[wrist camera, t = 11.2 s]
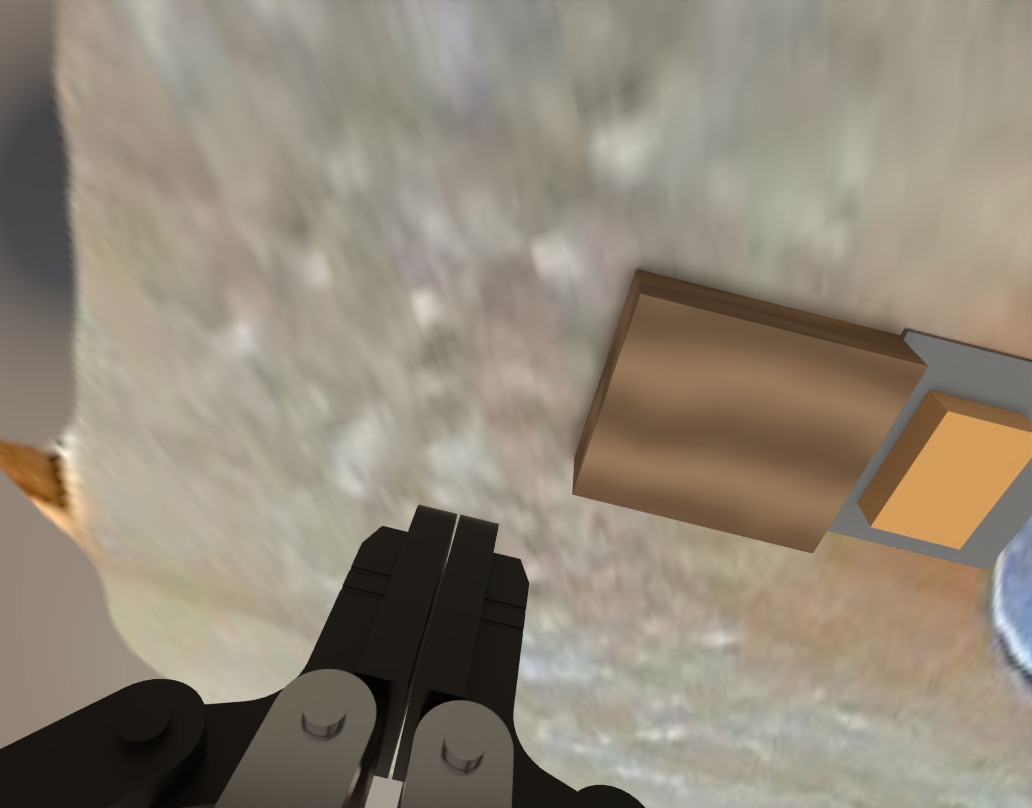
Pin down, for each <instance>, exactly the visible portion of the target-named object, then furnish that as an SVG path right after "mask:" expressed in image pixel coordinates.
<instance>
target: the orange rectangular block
mask: <svg viewBox="0 0 1032 808" xmlns="http://www.w3.org/2000/svg"><path fill="white" fill-rule="evenodd" d="M1031 458H1032V422H1031V421H1030V420H1029V419H1028V418H1027V417H1026V416H1025V415H1023V414H1019V413H1016V412H1012V411H1008V410H1004V409H1000V408H996V407H992V406H988V405H984V404H981V403H977V402H973V401H969V400H965V399H961V398H957V397H953V396H950V395H946V394H942V393H938V392H934V391H930V390H929V392H928V393H927V395H926V396H925V398H924V399H923V401H922V402H921V404H920V406H919V407H918V409H917V410H916V412H915V413H914V415H913V417H912V418H911V420H910V421H909V423H908V424H907V426H906V427H905V429H904V431H903V432H902V434H901V435H900V437H899V438H898V440H897V441H896V443H895V445H894V446H893V448H892V449H891V451H890V452H889V454H888V456H887V457H886V459H885V460H884V462H883V463H882V465H881V466H880V468H879V470H878V471H877V473H876V474H875V476H874V477H873V479H872V480H871V482H870V484H869V485H868V487H867V488H866V490H865V491H864V493H863V495H862V496H861V498H860V499H859V501H858V502H857V503H858V505H859V507H860V509H861V510H862V512H863V514H864V516H865V518H866V520H867V522H868V523H869V525H870V527H872V528H876V529H880V530H884V531H888V532H892V533H896V534H900V535H904V536H908V537H912V538H916V539H920V540H924V541H928V542H932V543H936V544H940V545H944V546H948V547H952V548H956V549H960V548H961V547H962V546H963V545H964V543H965V542H966V541H967V539H968V538H969V537H970V536H971V534H972V533H973V532H974V531H975V529H976V528H977V527H978V525H979V524H980V523H981V522H982V520H983V519H984V518H985V516H986V515H987V514H988V513H989V511H990V510H991V509H992V508H993V506H994V505H995V504H996V502H997V501H998V500H999V499H1000V497H1001V496H1002V495H1003V493H1004V492H1005V491H1006V490H1007V488H1008V487H1009V486H1010V485H1011V483H1012V482H1013V481H1014V479H1015V478H1016V477H1017V476H1018V474H1019V473H1020V472H1021V470H1022V469H1023V468H1024V467H1025V465H1026V464H1027V463H1028V462H1029V460H1030V459H1031Z"/></svg>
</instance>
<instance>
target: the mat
mask: <svg viewBox="0 0 1032 808" xmlns="http://www.w3.org/2000/svg"><path fill="white" fill-rule="evenodd" d="M901 338H902V339H903V340H904V341H905V342H906V343H907V344H908V345H909V346H910V347H911V348H912V350H913V351H914V352H915V353H916V354H917V355H918V356H919V357H920V358H921V359H922V360H923V361H924V362H925V363H926V364H927V365H928V368H927V370H926V371H925V373H924V374H923V376H922V378H921V379H920V381H919V383H918V384H917V386H916V387H915V389H914V391H913V392H912V394H911V396H910V397H909V399H908V400H907V402H906V404H905V405H904V407H903V408H902V410H901V412H900V413H899V415H898V417H897V418H896V420H895V421H894V423H893V425H892V426H891V428H890V429H889V431H888V433H887V434H886V436H885V438H884V439H883V441H882V442H881V444H880V446H879V447H878V449H877V450H876V452H875V454H874V455H873V457H872V459H871V460H870V462H869V463H868V465H867V467H866V468H865V470H864V471H863V473H862V475H861V476H860V478H859V480H858V481H857V483H856V484H855V486H854V488H853V489H852V491H851V492H850V494H849V496H848V497H847V499H846V501H845V502H844V504H843V505H842V507H841V509H840V510H839V512H838V513H837V515H836V517H835V518H834V520H833V522H832V523H831V525H830V526H829V528H828V530H827V531H831V532H835V533H839V534H843V535H847V536H851V537H855V538H859V539H863V540H867V541H871V542H875V543H879V544H883V545H887V546H891V547H896V548H900V549H904V550H908V551H912V552H916V553H920V554H924V555H928V556H932V557H936V558H940V559H944V560H948V561H952V562H956V563H960V564H964V565H969V566H973V567H977V568H981V569H985V570H987V569H988V568H989V566H990V565H991V564H992V563H993V562H994V560H995V559H996V558H997V557H998V555H999V554H1000V553H1001V552H1002V551H1003V549H1004V548H1005V547H1006V546H1007V544H1008V543H1009V542H1010V541H1011V540H1012V538H1013V537H1014V536H1015V535H1016V533H1017V532H1018V531H1019V530H1020V529H1021V527H1022V526H1023V525H1024V524H1025V522H1026V521H1027V520H1028V519H1029V518H1030V516H1031V515H1032V458H1031V459H1030V460H1029V462H1028V463H1027V464H1026V465H1025V467H1024V468H1023V469H1022V470H1021V472H1020V473H1019V474H1018V476H1017V477H1016V478H1015V479H1014V481H1013V482H1012V483H1011V485H1010V486H1009V487H1008V488H1007V490H1006V491H1005V492H1004V493H1003V495H1002V496H1001V497H1000V499H999V500H998V501H997V502H996V504H995V505H994V506H993V508H992V509H991V510H990V511H989V513H988V514H987V515H986V516H985V518H984V519H983V520H982V522H981V523H980V524H979V525H978V527H977V528H976V529H975V531H974V532H973V533H972V534H971V536H970V537H969V538H968V539H967V541H966V542H965V543H964V545H963V546H962V547H961V548H960V549H956V548H952V547H948V546H944V545H940V544H936V543H932V542H928V541H924V540H920V539H916V538H912V537H908V536H904V535H900V534H896V533H892V532H888V531H884V530H880V529H876V528H872V527H870V525H869V523H868V522H867V520H866V518H865V516H864V514H863V512H862V510H861V509H860V507H859V505H858V503H857V502H858V501H859V499H860V498H861V496H862V495H863V493H864V491H865V490H866V488H867V487H868V485H869V484H870V482H871V480H872V479H873V477H874V476H875V474H876V473H877V471H878V470H879V468H880V466H881V465H882V463H883V462H884V460H885V459H886V457H887V456H888V454H889V452H890V451H891V449H892V448H893V446H894V445H895V443H896V441H897V440H898V438H899V437H900V435H901V434H902V432H903V431H904V429H905V427H906V426H907V424H908V423H909V421H910V420H911V418H912V417H913V415H914V413H915V412H916V410H917V409H918V407H919V406H920V404H921V402H922V401H923V399H924V398H925V396H926V395H927V393H928V392H929V390H930V391H934V392H938V393H942V394H946V395H950V396H953V397H957V398H961V399H965V400H969V401H973V402H977V403H981V404H984V405H988V406H992V407H996V408H1000V409H1004V410H1008V411H1012V412H1016V413H1019V414H1023V415H1025V416H1026V417H1027V418H1028V419H1029V420H1030V421H1031V422H1032V361H1031V360H1027V359H1023V358H1019V357H1015V356H1012V355H1008V354H1004V353H1000V352H996V351H992V350H988V349H984V348H980V347H976V346H972V345H968V344H964V343H960V342H956V341H952V340H948V339H944V338H940V337H936V336H932V335H928V334H924V333H921V332H917V331H913V330H909V329H905V330H904V332H903V334H902V336H901Z"/></svg>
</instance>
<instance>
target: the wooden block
mask: <svg viewBox="0 0 1032 808" xmlns="http://www.w3.org/2000/svg"><path fill="white" fill-rule="evenodd" d="M927 368H928V365H927V364H926V363H925V362H924V361H923V360H922V359H921V358H920V357H919V356H918V355H917V354H916V353H915V352H914V351H913V350H912V348H911V347H910V346H909V345H908V344H907V343H906V342H905V341H904V340H903V339H902V338H901V337H900V336H898V335H894V334H890V333H886V332H882V331H878V330H874V329H870V328H866V327H862V326H858V325H855V324H851V323H847V322H843V321H839V320H835V319H831V318H827V317H823V316H819V315H815V314H811V313H807V312H803V311H799V310H795V309H791V308H787V307H783V306H779V305H775V304H771V303H767V302H763V301H759V300H756V299H752V298H748V297H744V296H740V295H736V294H732V293H728V292H724V291H720V290H716V289H712V288H708V287H704V286H700V285H696V284H692V283H688V282H684V281H680V280H676V279H672V278H668V277H664V276H660V275H656V274H653V273H649V272H645V271H641V270H636V273H635V276H634V279H633V283H632V286H631V289H630V292H629V295H628V298H627V301H626V304H625V307H624V310H623V313H622V316H621V319H620V322H619V325H618V328H617V331H616V334H615V337H614V340H613V343H612V346H611V349H610V352H609V355H608V358H607V361H606V364H605V367H604V370H603V373H602V377H601V380H600V383H599V386H598V389H597V392H596V395H595V398H594V401H593V404H592V407H591V410H590V413H589V416H588V419H587V422H586V425H585V428H584V431H583V434H582V437H581V440H580V443H579V446H578V449H577V452H576V455H575V458H574V474H573V492H572V494H573V495H577V496H581V497H585V498H589V499H593V500H597V501H601V502H605V503H609V504H614V505H618V506H622V507H626V508H630V509H634V510H638V511H642V512H646V513H650V514H654V515H658V516H662V517H666V518H670V519H675V520H679V521H683V522H687V523H691V524H695V525H699V526H703V527H707V528H711V529H715V530H719V531H723V532H727V533H732V534H736V535H740V536H744V537H748V538H752V539H756V540H760V541H764V542H768V543H772V544H776V545H780V546H784V547H789V548H793V549H797V550H801V551H805V552H809V553H813V552H814V551H815V549H816V547H817V546H818V544H819V543H820V541H821V539H822V538H823V536H824V534H825V533H826V531H827V530H828V528H829V526H830V525H831V523H832V522H833V520H834V518H835V517H836V515H837V513H838V512H839V510H840V509H841V507H842V505H843V504H844V502H845V501H846V499H847V497H848V496H849V494H850V492H851V491H852V489H853V488H854V486H855V484H856V483H857V481H858V480H859V478H860V476H861V475H862V473H863V471H864V470H865V468H866V467H867V465H868V463H869V462H870V460H871V459H872V457H873V455H874V454H875V452H876V450H877V449H878V447H879V446H880V444H881V442H882V441H883V439H884V438H885V436H886V434H887V433H888V431H889V429H890V428H891V426H892V425H893V423H894V421H895V420H896V418H897V417H898V415H899V413H900V412H901V410H902V408H903V407H904V405H905V404H906V402H907V400H908V399H909V397H910V396H911V394H912V392H913V391H914V389H915V387H916V386H917V384H918V383H919V381H920V379H921V378H922V376H923V374H924V373H925V371H926V370H927Z"/></svg>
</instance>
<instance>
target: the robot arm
mask: <svg viewBox="0 0 1032 808" xmlns="http://www.w3.org/2000/svg"><path fill="white" fill-rule="evenodd" d="M456 518H457V514H455V513H451V512H447V511H443V510H439V509H435V508H431V507H427V506H422V505H418V507H417V509H416V512H415V514H414V517H413V520H412V522H411V525H410V528H409V531H408V532H406V531H402V530H398V529H393V528H389V527H385V526H382V527H380V528H379V529H378V530H377V531H376V532H374V533H373V534H372V535H371V536H370V537H368V538H367V539H366V540H365V541H364V542H363V543H362V544H361V546H360V548H359V551H358V553H357V555H356V557H355V559H354V562H353V564H352V566H351V570H350V571H349V573H348V575H347V577H346V579H345V581H344V584H343V587H342V590H340V592H339V595H338V597H337V599H336V601H335V604H334V606H333V608H332V610H331V612H330V615H329V617H328V619H327V621H326V623H325V626H324V628H323V630H322V632H321V634H320V637H319V639H318V641H317V643H316V645H315V648H314V650H313V652H312V654H311V656H310V659H309V661H308V663H307V664H306V666H305V668H304V669H303V671H302V672H301V673H300V675H299V676H298V677H297V678H296V679H294V680H293V681H292V682H290V683H289V684H288V685H287V686H286V687H285V688H283V689H281V690H280V691H278V692H276V693H274V694H271V695H269V696H267V697H264V698H260V699H256V700H251V701H243V702H230V703H218V704H205V705H204V703H203V701H202V699H201V697H200V696H199V694H198V693H197V692H196V691H195V690H194V689H193V688H191V687H190V686H188V685H186V684H184V683H182V682H179V681H175V680H169V679H152V680H146V681H142V682H138V683H135V684H132V685H130V686H127V687H125V688H123V689H121V690H119V691H117V692H115V693H113V694H111V695H109V696H107V697H105V698H103V699H101V700H99V701H97V702H95V703H93V704H91V705H88V706H87V707H84V708H82V709H80V710H78V711H76V712H74V713H72V714H70V715H69V716H66V717H64V718H62V719H60V720H58V721H56V722H54V723H52V724H50V725H48V726H46V727H44V728H42V729H40V730H38V731H36V732H34V733H32V734H30V735H28V736H26V737H24V738H22V739H20V740H18V741H16V742H14V743H12V744H10V745H8V746H6V747H4V748H2V749H0V808H364V807H365V804H366V801H367V797H368V794H369V790H370V787H371V783H372V780H373V777H374V775H375V776H379V777H383V778H388V775H389V772H390V768H391V765H392V761H393V758H394V754H395V750H396V747H397V743H398V740H399V736H400V732H401V729H402V725H403V722H404V718H405V714H406V718H405V723H404V727H403V732H402V736H401V741H400V745H399V750H398V754H397V759H396V763H395V768H394V772H393V777H392V779H393V780H397V781H402V782H403V786H402V789H401V794H400V798H399V802H398V806H397V808H645V807H644V806H643V805H642V804H641V803H640V802H639V801H638V800H637V799H636V798H634V797H633V796H632V795H630V794H629V793H627V792H625V791H623V790H621V789H618V788H616V787H613V786H607V785H593V786H588V787H586V788H583V789H581V790H579V791H578V792H577V791H576V790H574V789H573V788H571V787H569V786H568V785H566V784H565V783H563V782H561V781H560V780H558V779H556V778H555V777H553V776H552V775H550V774H548V773H547V772H546V771H544V770H543V769H541V768H540V767H539V766H538V765H537V764H536V763H535V762H533V761H532V760H531V758H530V757H529V756H528V755H527V753H526V752H525V750H524V749H523V747H522V746H521V744H520V742H519V739H518V737H517V735H516V731H515V727H514V720H513V711H514V702H515V694H516V686H517V678H518V670H519V662H520V653H521V645H522V637H523V629H524V621H525V610H526V605H527V597H528V589H529V581H528V579H527V576H526V573H525V570H524V568H523V565H522V562H521V559H518V558H514V557H509V556H505V555H501V554H497V553H493V552H494V547H495V542H496V537H497V532H498V526H499V524H497V523H493V522H489V521H485V520H481V519H477V518H472V517H468V516H464V515H460V518H459V522H458V525H457V529H456V532H455V536H454V540H453V543H452V547H451V550H450V554H449V549H450V545H451V540H452V536H453V532H454V527H455V523H456ZM448 554H449V557H448ZM447 558H448V561H447ZM446 562H447V565H446ZM445 567H446V568H445ZM444 571H445V572H444ZM407 707H408V709H407ZM406 711H407V713H406Z"/></svg>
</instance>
